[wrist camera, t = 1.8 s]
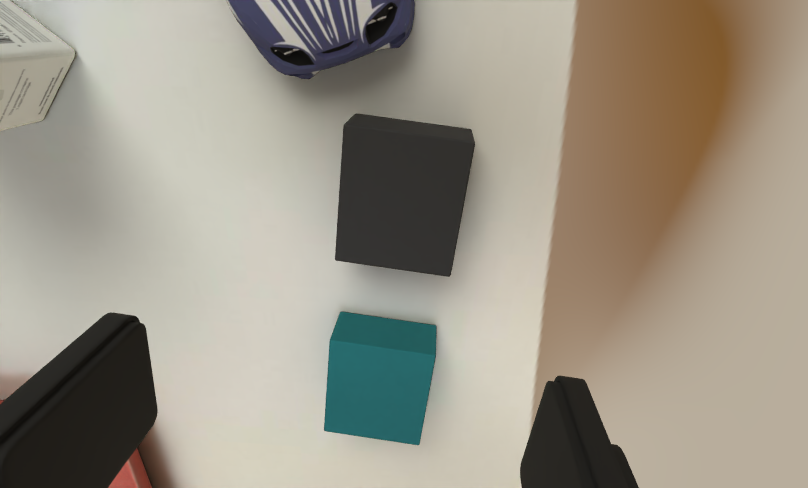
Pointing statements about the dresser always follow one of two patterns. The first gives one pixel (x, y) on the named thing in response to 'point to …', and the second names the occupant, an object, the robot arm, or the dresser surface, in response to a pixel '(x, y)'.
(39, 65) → the ink box
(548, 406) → the robot arm
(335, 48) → the toy car
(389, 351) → the teal pad
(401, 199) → the charcoal pad
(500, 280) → the dresser surface
